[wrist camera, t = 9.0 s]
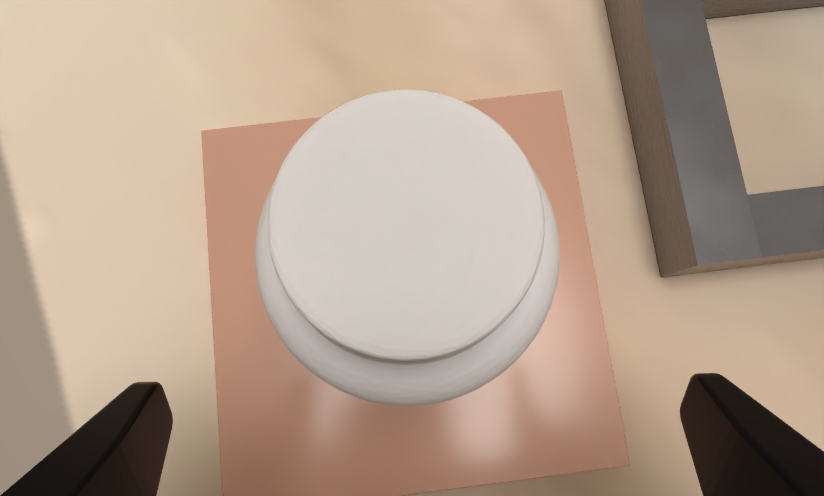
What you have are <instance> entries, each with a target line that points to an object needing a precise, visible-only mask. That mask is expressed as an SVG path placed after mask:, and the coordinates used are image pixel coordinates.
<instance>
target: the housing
mask: <svg viewBox="0 0 824 496" xmlns="http://www.w3.org/2000/svg"><path fill="white" fill-rule="evenodd" d="M605 4H606V9H607V14H608V19H609V24H610V28H611V33H612V38H613V43H614V48H615V53H616V58H617V63H618V68H619V73H620V78H621V83H622V87H623V92H624V97H625V102H626V107H627V112H628V117H629V122H630V127H631V132H632V137H633V142H634V146H635V151H636V156H637V161H638V166H639V171H640V176H641V181H642V186H643V191H644V196H645V201H646V205H647V210H648V215H649V220H650V225H651V230H652V235H653V240H654V245H655V250H656V255H657V260H658V264H659V269H660V274H661V277H667V276H675V275H684V274H692V273H700V272H708V271H716V270H725V269H733V268H741V267H749V266H757V265H766V264H774V263H782V262H790V261H798V260H807V259H815V258H823V257H824V186H819V187H810V188H802V189H793V190H785V191H776V192H768V193H760V194H751V195H747V193H746V189H745V184H744V180H743V176H742V172H741V167H740V163H739V159H738V155H737V151H736V146H735V142H734V138H733V134H732V130H731V125H730V121H729V117H728V113H727V108H726V104H725V100H724V96H723V92H722V87H721V83H720V79H719V75H718V71H717V66H716V62H715V58H714V54H713V49H712V45H711V41H710V37H709V33H708V28H707V24H706V20H705V18H714V17H723V16H732V15H741V14H751V13H760V12H769V11H778V10H788V9H797V8H806V7H815V6H824V0H605Z"/></svg>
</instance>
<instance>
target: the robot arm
mask: <svg viewBox="0 0 824 496" xmlns="http://www.w3.org/2000/svg"><path fill="white" fill-rule="evenodd" d="M680 417H681V422H682V425H683V428H684V432H685V435H686V439H687V442H688V445H689V449H690V452H691V456H692V459H693V463H694V466H695V469H696V473H697V476H698V480H699V483H700V486H701V490H702V493H703V496H824V451H822V450H821V449H820V448H818V447H817V446H816V445H814V444H813V443H812V442H810V441H809V440H808V439H806V438H805V437H804V436H802V435H801V434H800V433H798V432H797V431H796V430H794V429H793V428H792V427H790V426H789V425H788V424H786V423H785V422H784V421H782V420H781V419H780V418H778V417H777V416H776V415H774V414H773V413H772V412H770V411H769V410H768V409H766V408H765V407H764V406H762V405H761V404H760V403H758V402H757V401H756V400H754V399H753V398H752V397H750V396H749V395H748V394H746V393H745V392H744V391H742V390H741V389H740V388H738V387H737V386H736V385H734V384H733V383H732V382H730V381H729V380H728V379H726V378H725V377H723V376H722V375H720V374H716V373H700V374H694V375H693V376H692V377H691V379H690V381H689V384H688V387H687V390H686V392H685V395H684V398H683V401H682V403H681V407H680ZM172 424H173V418H172V412H171V409H170V407H169V404H168V401H167V398H166V395H165V392H164V390H163V387H162V385H161V384H160V383H158V382H136V383H133V384H132V385H130V386H129V387H128V388H126V389H125V390H124V391H123V392H122V393H121V394H119V395H118V396H117V397H116V398H115V399H114V400H112V401H111V402H110V403H109V404H108V405H106V406H105V407H104V408H103V409H102V410H101V411H99V412H98V413H97V414H96V415H95V416H93V417H92V418H91V419H90V420H89V421H88V422H86V423H85V424H84V425H83V426H82V427H81V428H79V429H78V430H77V431H76V432H75V433H73V434H72V435H71V436H70V437H69V438H68V439H66V440H65V441H64V442H63V443H62V444H60V445H59V446H58V447H57V448H56V449H55V450H54V451H52V452H51V453H50V454H49V455H48V456H46V457H45V458H44V459H43V460H42V461H40V462H39V463H38V464H37V465H36V466H35V467H33V468H32V469H31V470H30V471H29V472H28V473H26V474H25V475H24V476H23V477H22V478H21V479H20V480H18V481H17V482H16V483H15V484H13V485H12V486H11V487H10V488H9V489H8V490H6V491H5V492H4V493H3V494H2V495H0V496H156V495H157V490H158V486H159V482H160V477H161V473H162V469H163V465H164V460H165V456H166V452H167V447H168V443H169V439H170V434H171V430H172Z"/></svg>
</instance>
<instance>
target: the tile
mask: <svg viewBox="0 0 824 496" xmlns="http://www.w3.org/2000/svg"><path fill="white" fill-rule="evenodd" d="M464 102H465V103H467V104H469V105H471V106H473V107H475V108H476V109H478V110H480V111H481V112H483V113H484V114H486V115H488V116H489V117H491V118H492V119H493V120H494V121H496V122H497V123H498V124H499V125H500V126H502V127H503V129H504V130H505V131H506V132H507V133H508V134H509V135H510V136H511V137H512V138H513V139H514V141H515V142H516V143H517V144H518V146H519V147H520V149H521V150H522V152H523V153H524V154H525V156H526V158H527V160H528V162H529V164H530V165H531V167H532V169H533V170H534V172H535V173H536V175H537V176H538V178H539V180H540V182H541V184H542V186H543V188H544V189H545V191H546V193H547V196H548V198H549V201H550V203H551V206H552V209H553V212H554V216H555V219H556V223H557V229H558V235H559V244H560V263H559V275H558V282H557V287H556V291H555V294H554V298H553V301H552V304H551V307H550V309H549V312H548V314H547V316H546V319H545V321H544V323H543V325H542V327H541V328H540V330H539V332H538V334H537V336H536V337H535V338H534V340H533V341H532V343H531V344H530V345H529V347H528V348H527V349H526V350H525V351H524V353H523V354H522V355H521V356H520V357H519V358H518V359H517V360H516V361H515V362H514V363H513V364H512V365H511V366H510V367H509V368H508V369H507V370H505V371H504V372H503V373H502V374H500V375H499V376H498V377H496V378H495V379H494V380H492V381H491V382H489V383H487V384H486V385H484V386H482V387H481V388H479V389H477V390H475V391H472V392H470V393H468V394H466V395H463V396H460V397H457V398H454V399H451V400H448V401H444V402H440V403H435V404H429V405H420V406H398V405H387V404H380V403H375V402H371V401H367V400H363V399H360V398H357V397H354V396H352V395H349V394H347V393H345V392H342V391H340V390H338V389H337V388H335V387H333V386H331V385H330V384H328V383H326V382H324V381H323V380H321V379H320V378H318V377H317V376H316V375H314V374H313V373H312V372H310V371H309V370H308V369H307V368H306V367H305V366H304V365H303V364H301V363H300V361H299V360H298V359H297V358H296V357H295V356H294V355H293V354H292V353H291V352H290V351H289V349H288V348H287V347H286V345H285V344H284V343H283V341H282V340H281V339H280V337H279V336H278V334H277V333H276V331H275V329H274V327H273V326H272V324H271V322H270V320H269V317H268V315H267V313H266V310H265V307H264V305H263V302H262V299H261V295H260V292H259V287H258V283H257V278H256V269H255V243H256V233H257V228H258V223H259V218H260V215H261V211H262V208H263V205H264V202H265V200H266V197H267V195H268V193H269V191H270V189H271V187H272V184H273V183H274V181H275V179H276V177H277V175H278V172H279V170H280V168H281V166H282V164H283V161H284V160H285V158H286V156H287V155H288V153H289V151H290V150H291V148H292V147H293V146H294V144H295V143H296V142H297V141H298V139H299V138H300V137H301V136H302V135H303V134H304V133H305V132H306V131H307V130H308V129H309V128H310V127H311V126H312V125H313V124H314V123H316V122H317V121H318V120H319V119H321V118H322V117H320V118H312V119H303V120H294V121H285V122H276V123H267V124H258V125H249V126H240V127H231V128H222V129H213V130H204V131H201V134H202V151H203V168H204V185H205V202H206V219H207V236H208V253H209V270H210V287H211V304H212V321H213V338H214V356H215V373H216V390H217V407H218V424H219V441H220V458H221V475H222V492H223V496H402V495H410V494H417V493H425V492H432V491H440V490H448V489H455V488H463V487H470V486H478V485H486V484H493V483H501V482H508V481H516V480H524V479H531V478H539V477H546V476H554V475H562V474H569V473H577V472H584V471H592V470H600V469H607V468H615V467H622V466H630V463H629V457H628V452H627V446H626V441H625V435H624V430H623V424H622V419H621V413H620V408H619V402H618V397H617V391H616V386H615V380H614V375H613V370H612V364H611V359H610V353H609V348H608V342H607V337H606V331H605V326H604V320H603V315H602V309H601V304H600V298H599V293H598V287H597V282H596V276H595V271H594V265H593V260H592V254H591V249H590V243H589V238H588V232H587V227H586V221H585V216H584V210H583V205H582V200H581V194H580V189H579V183H578V178H577V172H576V167H575V161H574V156H573V150H572V145H571V139H570V134H569V128H568V123H567V117H566V112H565V106H564V101H563V95H562V91H553V92H544V93H535V94H527V95H518V96H509V97H500V98H491V99H482V100H473V101H464Z"/></svg>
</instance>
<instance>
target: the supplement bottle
mask: <svg viewBox="0 0 824 496" xmlns="http://www.w3.org/2000/svg"><path fill="white" fill-rule="evenodd" d="M559 263H560V244H559V235H558V229H557V223H556V219H555V216H554V212H553V209H552V206H551V203H550V201H549V198H548V196H547V193H546V191H545V189H544V188H543V186H542V184H541V182H540V180H539V178H538V176H537V175H536V173H535V172H534V170H533V169H532V167H531V165H530V164H529V162H528V160H527V158H526V156H525V154H524V153H523V152H522V150H521V149H520V147H519V146H518V144H517V143H516V142H515V141H514V139H513V138H512V137H511V136H510V135H509V134H508V133H507V132H506V131H505V130H504V129H503V127H502V126H500V125H499V124H498V123H497V122H496V121H494V120H493V119H492V118H491V117H489V116H488V115H486V114H484V113H483V112H481V111H480V110H478V109H476V108H475V107H473V106H471V105H469V104H467V103H465V102H463V101H461V100H458V99H456V98H454V97H451V96H447V95H443V94H439V93H435V92H430V91H422V90H405V89H398V90H389V91H383V92H377V93H373V94H369V95H366V96H363V97H360V98H357V99H354V100H351V101H349V102H347V103H345V104H343V105H341V106H339V107H337V108H335V109H334V110H332V111H331V112H329V113H327V114H326V115H324V116H323V117H322V118H321V119H319V120H318V121H317V122H316V123H314V124H313V125H312V126H311V127H310V128H309V129H308V130H307V131H306V132H305V133H304V134H303V135H302V136H301V137H300V138H299V139H298V141H297V142H296V143H295V144H294V146H293V147H292V148H291V150H290V151H289V153H288V155H287V156H286V158H285V160H284V161H283V164H282V166H281V168H280V170H279V172H278V175H277V177H276V179H275V181H274V183H273V184H272V187H271V189H270V191H269V193H268V195H267V197H266V200H265V202H264V205H263V208H262V211H261V215H260V218H259V223H258V228H257V233H256V243H255V269H256V278H257V283H258V287H259V292H260V295H261V299H262V302H263V305H264V307H265V310H266V313H267V315H268V317H269V320H270V322H271V324H272V326H273V327H274V329H275V331H276V333H277V334H278V336H279V337H280V339H281V340H282V341H283V343H284V344H285V345H286V347H287V348H288V349H289V351H290V352H291V353H292V354H293V355H294V356H295V357H296V358H297V359H298V360H299V361H300V363H301V364H303V365H304V366H305V367H306V368H307V369H308V370H309V371H310V372H312V373H313V374H314V375H316V376H317V377H318V378H320V379H321V380H323V381H324V382H326V383H328V384H330V385H331V386H333V387H335V388H337V389H338V390H340V391H342V392H345V393H347V394H349V395H352V396H354V397H357V398H360V399H363V400H367V401H371V402H375V403H380V404H387V405H398V406H420V405H429V404H435V403H440V402H444V401H448V400H451V399H454V398H457V397H460V396H463V395H466V394H468V393H470V392H472V391H475V390H477V389H479V388H481V387H482V386H484V385H486V384H487V383H489V382H491V381H492V380H494V379H495V378H496V377H498V376H499V375H500V374H502V373H503V372H504V371H505V370H507V369H508V368H509V367H510V366H511V365H512V364H513V363H514V362H515V361H516V360H517V359H518V358H519V357H520V356H521V355H522V354H523V353H524V351H525V350H526V349H527V348H528V347H529V345H530V344H531V343H532V341H533V340H534V338H535V337H536V336H537V334H538V332H539V330H540V328H541V327H542V325H543V323H544V321H545V319H546V316H547V314H548V312H549V309H550V307H551V304H552V301H553V298H554V294H555V291H556V287H557V282H558V275H559Z"/></svg>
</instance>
